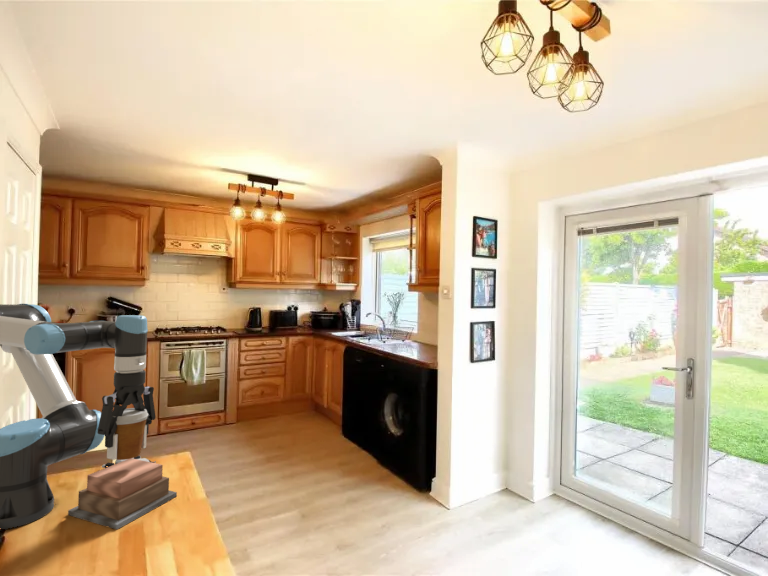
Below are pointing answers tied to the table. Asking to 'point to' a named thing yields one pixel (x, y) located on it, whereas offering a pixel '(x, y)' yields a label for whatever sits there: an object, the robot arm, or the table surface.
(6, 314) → the robot arm
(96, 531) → the table surface
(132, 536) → the table surface
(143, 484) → the pink brown stepped block
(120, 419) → the disposable coffee cup
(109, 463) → the robot toy
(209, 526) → the table surface
